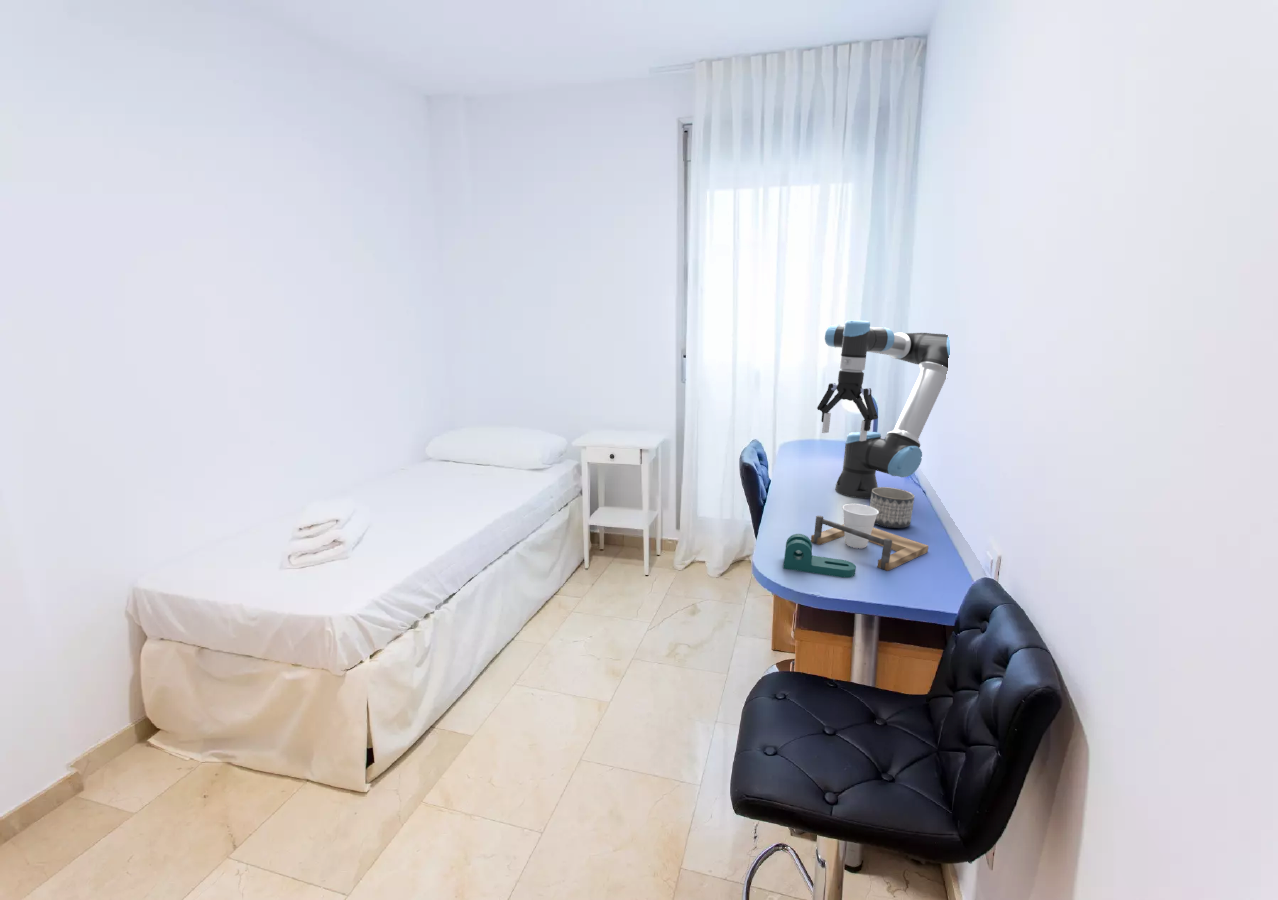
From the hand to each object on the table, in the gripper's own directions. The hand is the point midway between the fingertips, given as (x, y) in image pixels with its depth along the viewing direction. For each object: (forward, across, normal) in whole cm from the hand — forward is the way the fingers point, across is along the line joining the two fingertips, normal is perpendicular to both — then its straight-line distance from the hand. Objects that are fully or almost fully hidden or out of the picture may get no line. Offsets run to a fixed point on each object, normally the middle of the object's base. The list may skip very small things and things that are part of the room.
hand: (843, 436), depth 194 cm
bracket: (+27, +22, -41) cm, 54 cm away
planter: (+27, +15, +8) cm, 32 cm away
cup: (+27, +19, -18) cm, 37 cm away
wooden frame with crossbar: (+27, +22, -16) cm, 38 cm away
